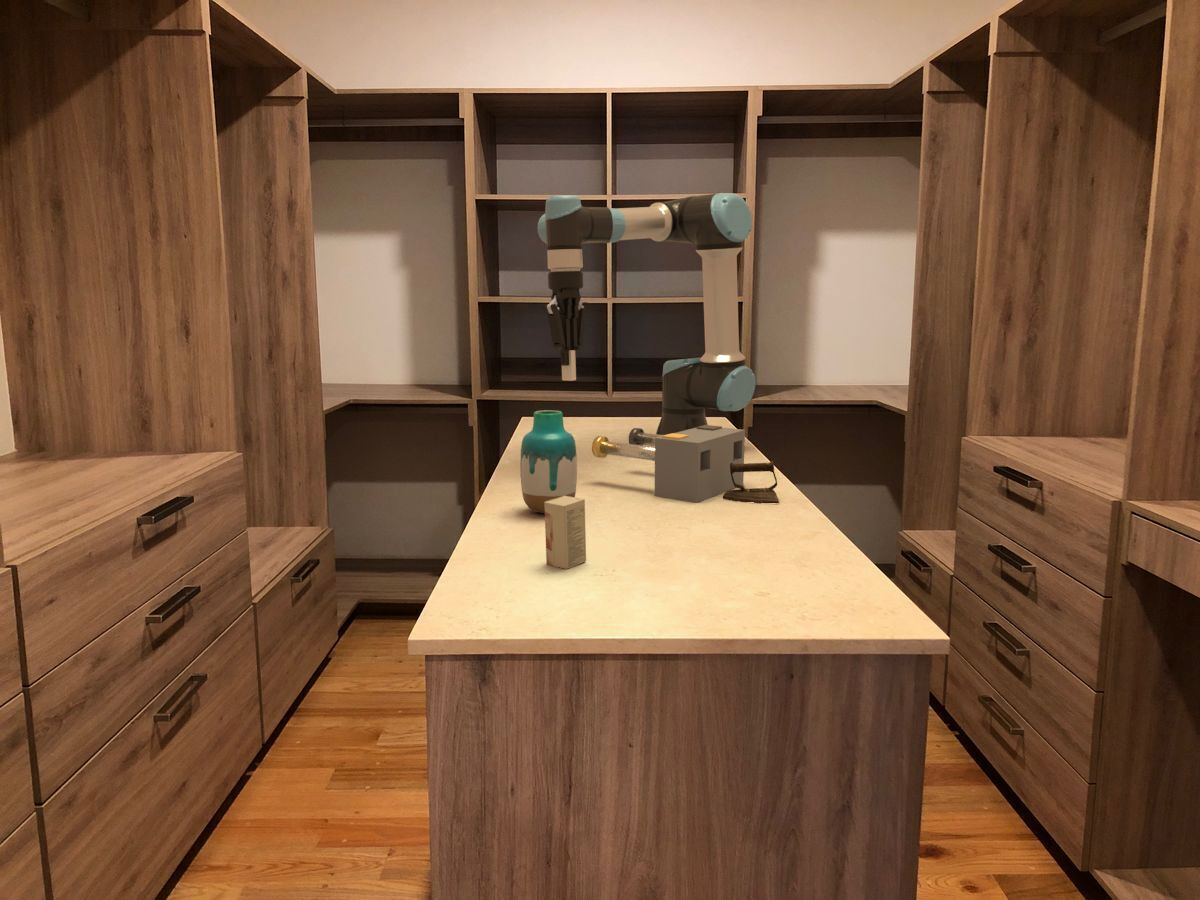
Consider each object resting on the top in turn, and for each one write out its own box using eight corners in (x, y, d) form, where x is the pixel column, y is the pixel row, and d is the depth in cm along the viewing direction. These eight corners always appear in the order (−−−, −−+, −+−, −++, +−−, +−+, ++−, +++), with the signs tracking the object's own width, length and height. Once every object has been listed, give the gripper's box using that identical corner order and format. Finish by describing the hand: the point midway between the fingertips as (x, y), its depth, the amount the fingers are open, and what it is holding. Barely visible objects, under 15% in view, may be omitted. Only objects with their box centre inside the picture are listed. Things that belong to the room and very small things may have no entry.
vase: (580, 505, 173) (579, 408, 169) (573, 519, 162) (572, 416, 159) (526, 504, 174) (525, 407, 170) (516, 518, 163) (514, 415, 160)
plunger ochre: (604, 455, 194) (604, 434, 193) (685, 466, 182) (685, 444, 181) (591, 458, 190) (591, 437, 189) (673, 470, 178) (673, 447, 178)
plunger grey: (639, 446, 205) (639, 426, 204) (717, 456, 193) (718, 435, 192) (628, 449, 201) (628, 429, 200) (707, 459, 190) (707, 438, 189)
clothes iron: (783, 507, 175) (773, 459, 172) (726, 518, 176) (716, 471, 174) (779, 495, 181) (770, 449, 179) (725, 506, 183) (714, 461, 180)
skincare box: (566, 556, 140) (565, 494, 139) (587, 561, 138) (587, 498, 136) (543, 564, 136) (542, 500, 135) (565, 570, 134) (564, 505, 132)
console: (702, 478, 197) (703, 423, 195) (743, 484, 191) (745, 428, 189) (654, 495, 181) (655, 436, 179) (697, 502, 175) (698, 441, 173)
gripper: (569, 270, 197) (573, 376, 201) (532, 271, 187) (537, 382, 191) (597, 269, 193) (600, 377, 197) (560, 270, 182) (565, 384, 187)
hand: (569, 380), depth 194 cm, fingers closed
